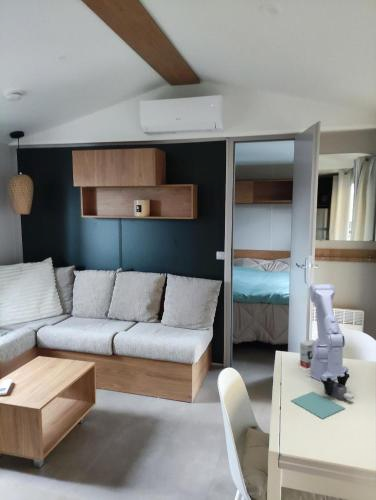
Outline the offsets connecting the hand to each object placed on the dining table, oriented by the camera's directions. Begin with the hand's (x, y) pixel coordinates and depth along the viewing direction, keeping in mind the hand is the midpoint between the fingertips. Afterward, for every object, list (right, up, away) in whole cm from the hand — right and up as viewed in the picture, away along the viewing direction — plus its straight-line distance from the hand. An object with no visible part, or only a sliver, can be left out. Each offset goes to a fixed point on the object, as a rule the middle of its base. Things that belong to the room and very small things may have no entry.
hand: (335, 392), depth 153 cm
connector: (+1, -2, -1) cm, 2 cm away
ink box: (0, +2, +31) cm, 31 cm away
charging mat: (-10, -3, -7) cm, 12 cm away
